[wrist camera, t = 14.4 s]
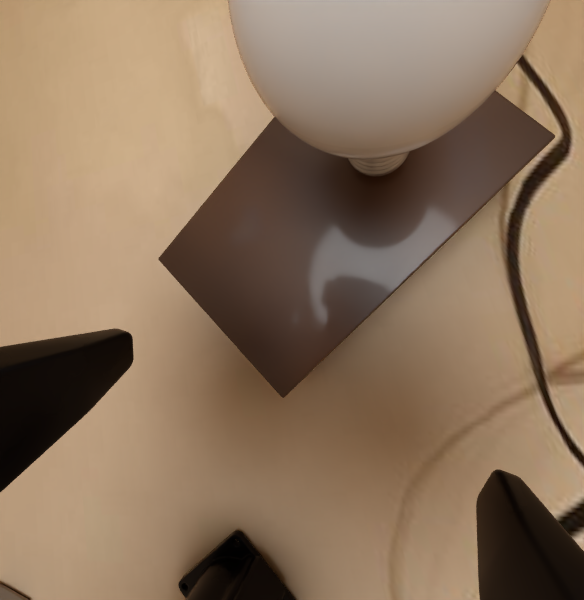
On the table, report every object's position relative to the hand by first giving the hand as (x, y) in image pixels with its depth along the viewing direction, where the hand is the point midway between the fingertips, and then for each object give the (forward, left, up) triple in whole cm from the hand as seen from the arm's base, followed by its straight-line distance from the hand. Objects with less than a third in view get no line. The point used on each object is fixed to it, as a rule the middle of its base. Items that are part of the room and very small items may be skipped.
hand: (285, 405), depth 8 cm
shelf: (+5, +5, -13) cm, 14 cm away
